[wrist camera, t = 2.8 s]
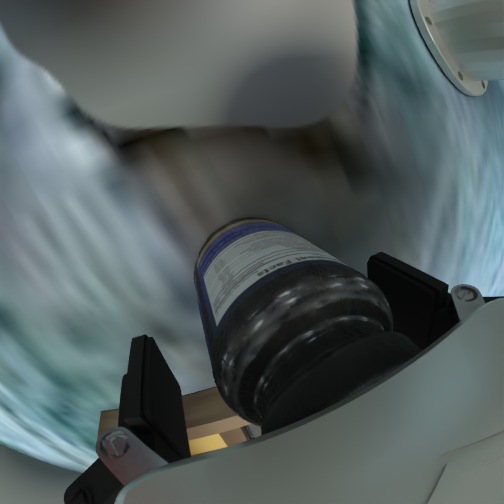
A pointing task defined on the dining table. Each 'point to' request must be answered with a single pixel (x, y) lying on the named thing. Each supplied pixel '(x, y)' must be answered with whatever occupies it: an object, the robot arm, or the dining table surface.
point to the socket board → (202, 422)
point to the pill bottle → (290, 324)
